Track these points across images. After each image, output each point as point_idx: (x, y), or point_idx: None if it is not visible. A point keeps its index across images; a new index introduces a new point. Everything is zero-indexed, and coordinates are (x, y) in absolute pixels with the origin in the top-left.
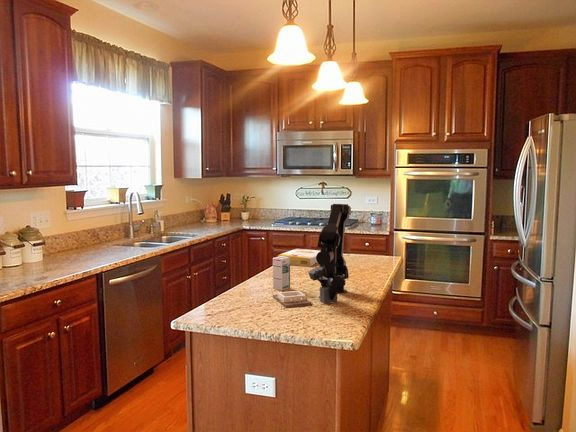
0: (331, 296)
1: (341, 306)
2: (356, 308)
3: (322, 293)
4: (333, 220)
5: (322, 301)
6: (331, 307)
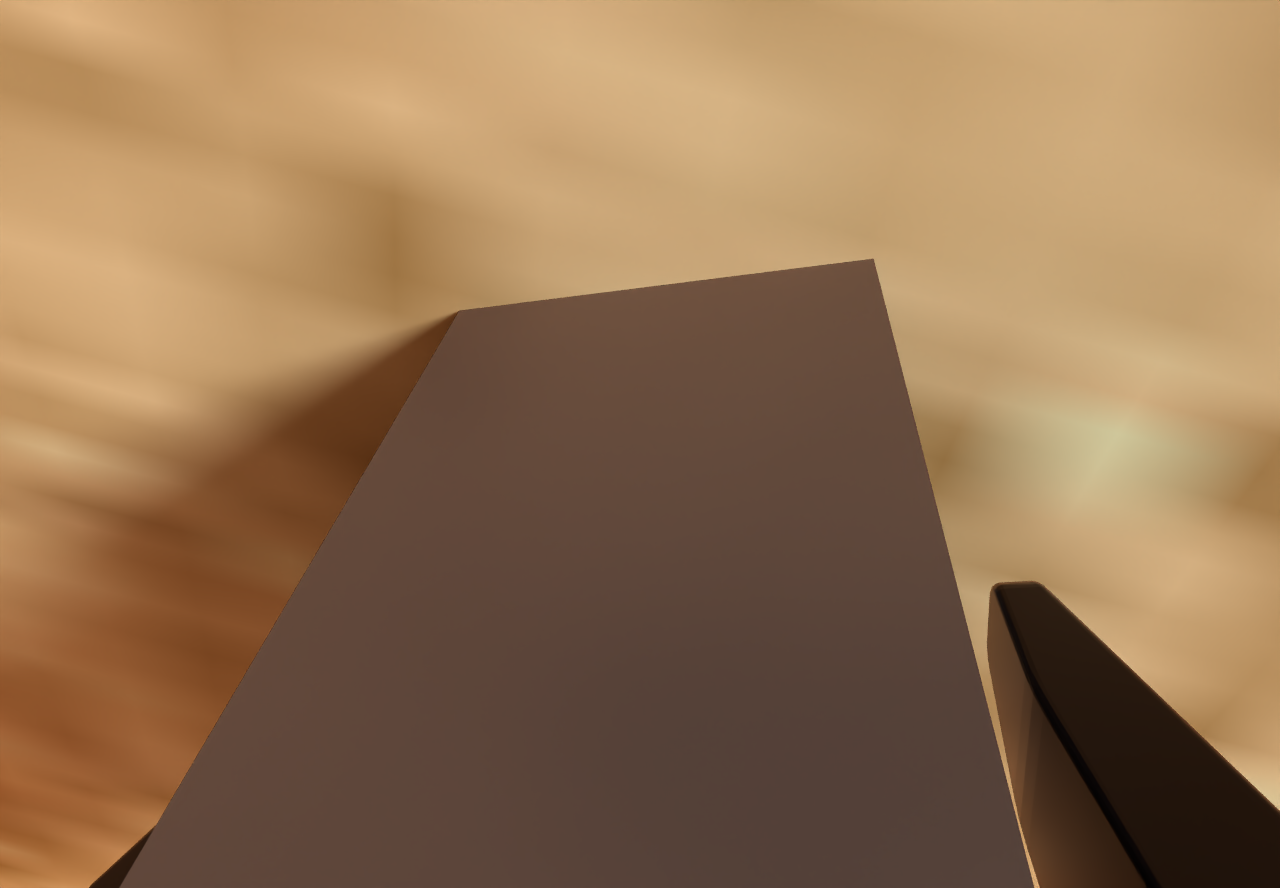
0: None
1: (192, 667)
2: (91, 834)
3: (520, 581)
4: None
5: (585, 322)
6: (24, 420)
